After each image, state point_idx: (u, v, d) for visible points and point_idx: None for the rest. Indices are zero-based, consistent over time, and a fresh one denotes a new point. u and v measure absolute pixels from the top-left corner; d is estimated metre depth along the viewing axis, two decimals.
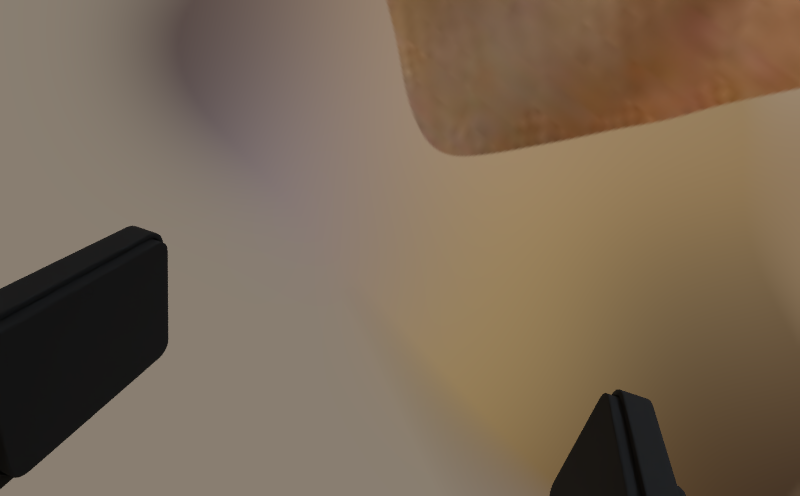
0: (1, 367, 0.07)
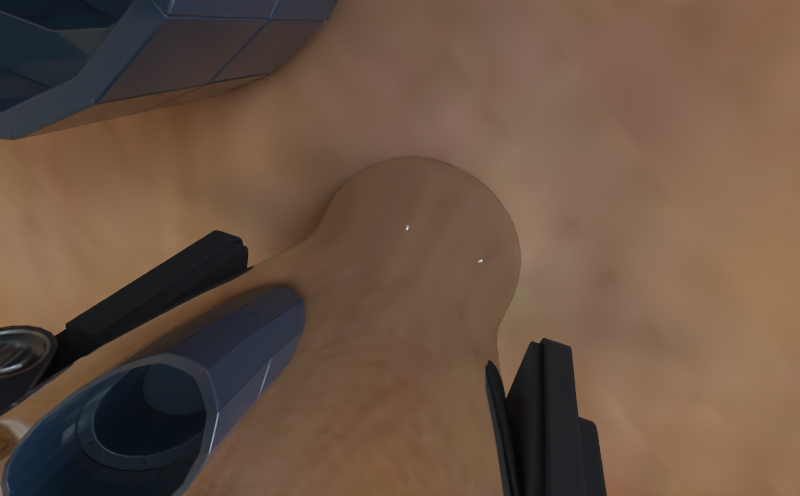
0: None
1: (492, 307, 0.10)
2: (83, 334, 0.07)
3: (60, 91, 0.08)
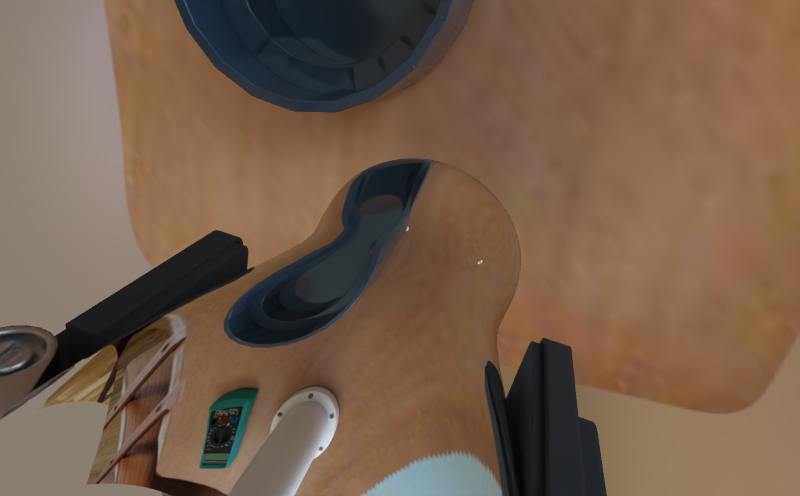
0: None
1: (492, 308, 0.10)
2: (83, 334, 0.07)
3: (363, 93, 0.21)
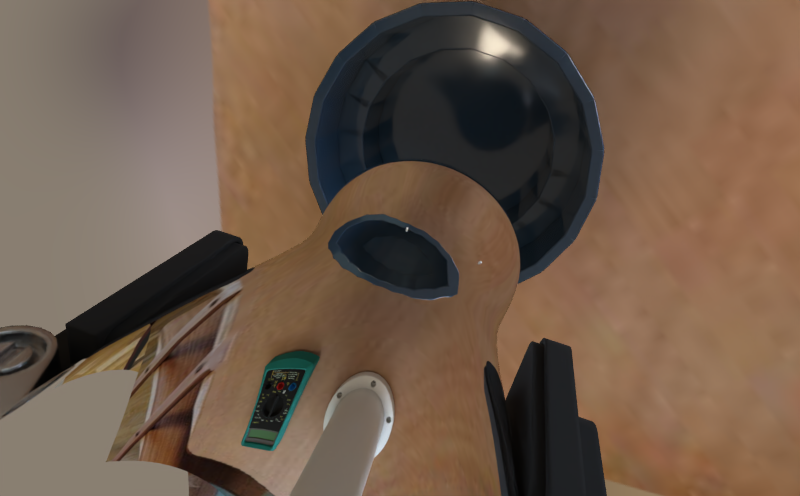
0: None
1: (492, 309, 0.10)
2: (83, 334, 0.07)
3: None
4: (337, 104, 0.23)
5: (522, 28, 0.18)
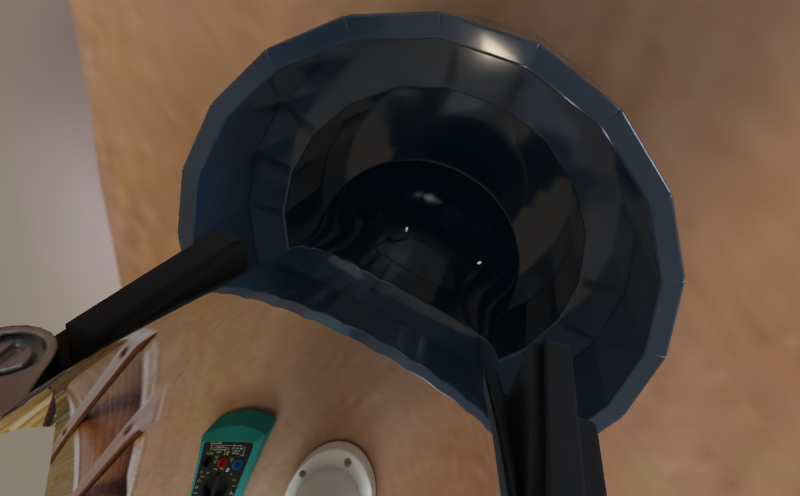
0: None
1: (491, 309, 0.10)
2: (83, 334, 0.07)
3: None
4: (237, 173, 0.15)
5: (535, 63, 0.10)
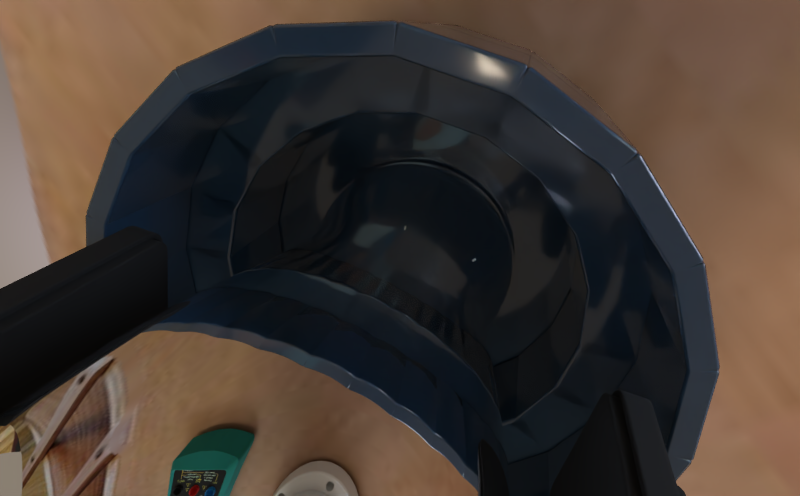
0: (1, 367, 0.07)
1: (485, 303, 0.11)
2: None
3: None
4: (167, 213, 0.12)
5: (523, 90, 0.07)
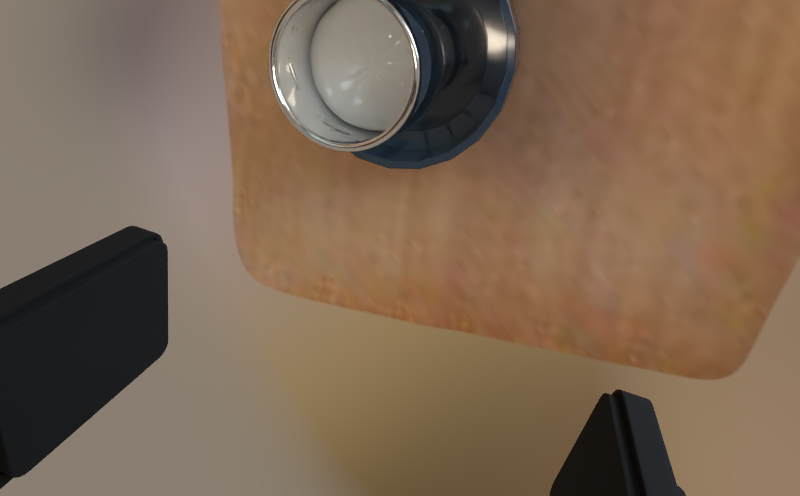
0: (1, 367, 0.07)
1: (446, 39, 0.28)
2: None
3: (441, 156, 0.29)
4: None
5: None
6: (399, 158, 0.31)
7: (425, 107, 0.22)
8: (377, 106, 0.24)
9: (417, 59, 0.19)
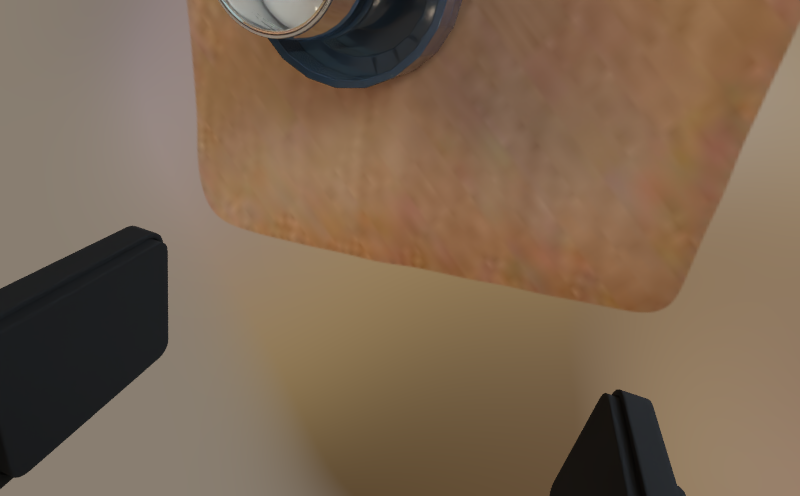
0: (1, 367, 0.07)
1: None
2: None
3: (384, 74, 0.31)
4: None
5: None
6: (346, 79, 0.32)
7: (354, 3, 0.24)
8: (314, 8, 0.25)
9: None
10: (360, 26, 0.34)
